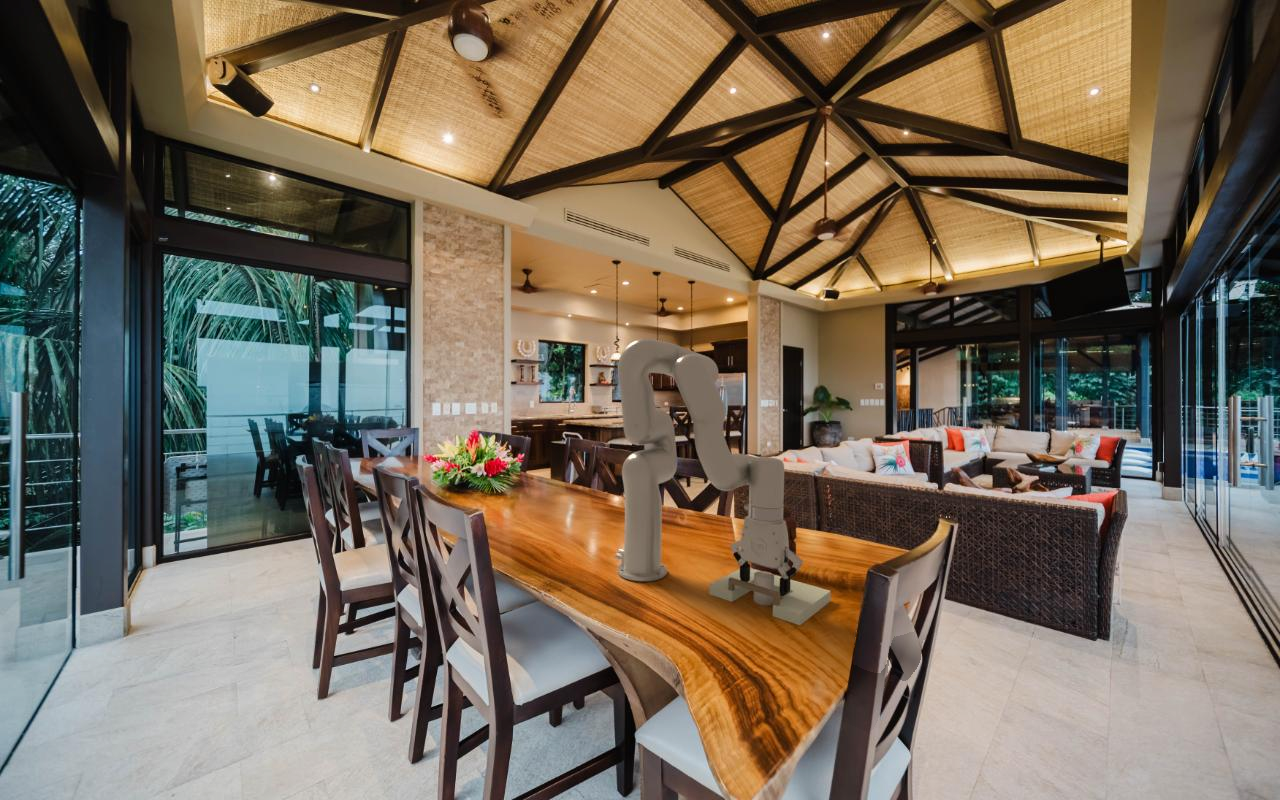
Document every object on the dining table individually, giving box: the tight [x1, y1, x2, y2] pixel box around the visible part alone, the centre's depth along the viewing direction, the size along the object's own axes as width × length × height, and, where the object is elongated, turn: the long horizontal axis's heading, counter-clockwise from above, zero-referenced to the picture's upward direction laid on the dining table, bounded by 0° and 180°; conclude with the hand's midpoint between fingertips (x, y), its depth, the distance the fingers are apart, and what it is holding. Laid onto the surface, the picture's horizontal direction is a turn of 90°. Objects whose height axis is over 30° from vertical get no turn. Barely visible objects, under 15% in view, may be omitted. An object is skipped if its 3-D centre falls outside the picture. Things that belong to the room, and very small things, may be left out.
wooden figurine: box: [750, 504, 797, 574], centre depth 132 cm, size 12×6×18 cm, turn 75°
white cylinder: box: [753, 571, 775, 606], centre depth 113 cm, size 4×4×6 cm
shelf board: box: [708, 567, 832, 626], centre depth 114 cm, size 22×16×5 cm
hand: (764, 588), depth 113 cm, fingers open, 9 cm apart
